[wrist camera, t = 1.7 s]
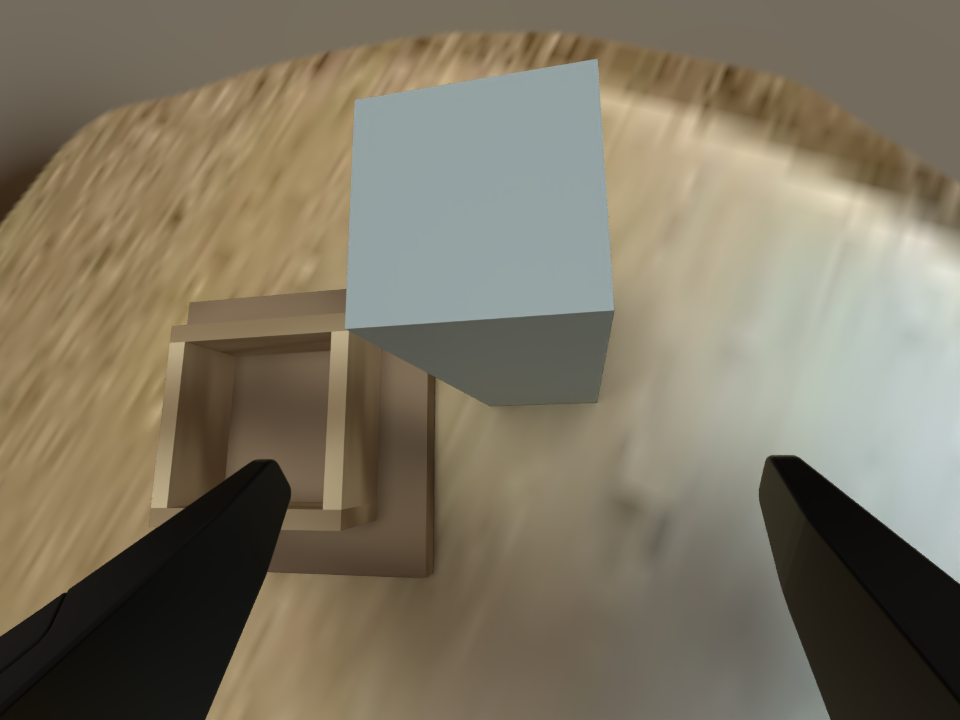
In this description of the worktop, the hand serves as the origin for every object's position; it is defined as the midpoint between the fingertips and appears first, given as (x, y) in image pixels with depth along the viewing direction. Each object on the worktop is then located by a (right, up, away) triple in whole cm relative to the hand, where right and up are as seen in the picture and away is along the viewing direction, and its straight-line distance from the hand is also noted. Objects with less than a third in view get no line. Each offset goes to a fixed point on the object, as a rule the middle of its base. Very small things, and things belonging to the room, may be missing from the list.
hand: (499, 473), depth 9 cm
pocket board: (-8, -1, +13) cm, 16 cm away
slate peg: (+2, +2, +12) cm, 12 cm away
